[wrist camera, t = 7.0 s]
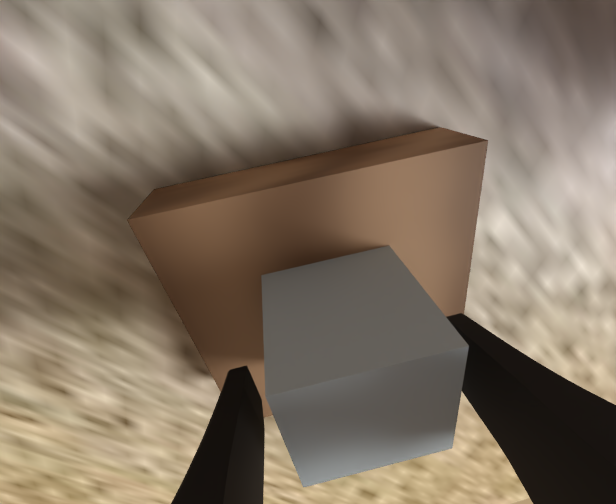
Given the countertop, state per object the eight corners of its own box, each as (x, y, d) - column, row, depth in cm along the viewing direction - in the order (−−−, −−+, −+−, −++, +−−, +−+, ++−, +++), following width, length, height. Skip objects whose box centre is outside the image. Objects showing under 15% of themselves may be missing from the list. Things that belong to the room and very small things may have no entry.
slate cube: (389, 245, 11) (468, 345, 7) (392, 335, 14) (452, 448, 10) (261, 275, 11) (265, 396, 7) (288, 361, 14) (303, 487, 10)
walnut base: (440, 127, 12) (487, 140, 10) (428, 328, 19) (456, 368, 16) (154, 189, 12) (126, 219, 9) (240, 375, 18) (238, 423, 16)
